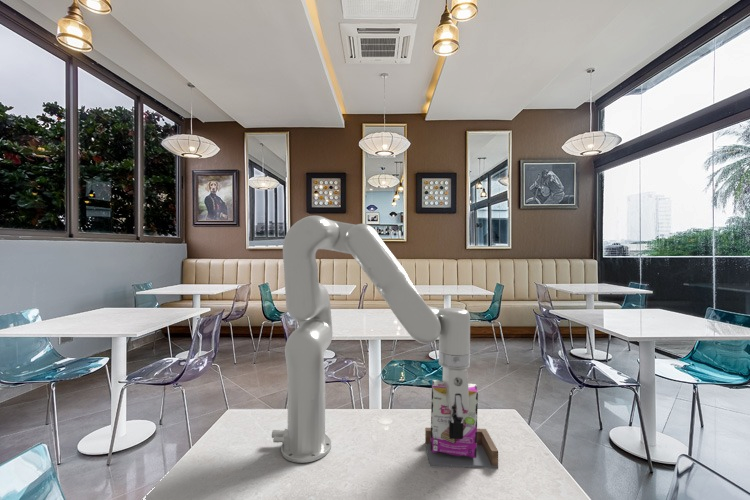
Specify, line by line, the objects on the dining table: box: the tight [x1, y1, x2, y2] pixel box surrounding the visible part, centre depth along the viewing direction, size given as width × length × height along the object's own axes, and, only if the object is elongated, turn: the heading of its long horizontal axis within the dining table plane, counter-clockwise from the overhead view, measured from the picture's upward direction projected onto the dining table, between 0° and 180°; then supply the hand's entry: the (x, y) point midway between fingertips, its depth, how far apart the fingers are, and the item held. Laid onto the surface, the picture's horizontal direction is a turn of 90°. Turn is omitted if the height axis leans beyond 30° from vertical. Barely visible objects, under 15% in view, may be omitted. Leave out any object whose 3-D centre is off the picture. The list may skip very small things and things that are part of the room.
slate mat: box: [425, 444, 499, 469], centre depth 86 cm, size 16×10×1 cm, turn 88°
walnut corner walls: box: [424, 427, 499, 467], centre depth 86 cm, size 16×10×4 cm, turn 88°
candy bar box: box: [430, 379, 479, 458], centre depth 85 cm, size 11×5×16 cm, turn 79°
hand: (453, 430), depth 85 cm, fingers closed on candy bar box, 5 cm apart
